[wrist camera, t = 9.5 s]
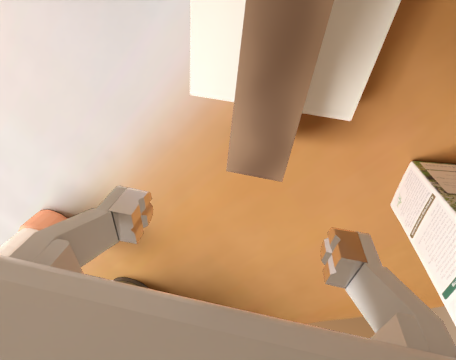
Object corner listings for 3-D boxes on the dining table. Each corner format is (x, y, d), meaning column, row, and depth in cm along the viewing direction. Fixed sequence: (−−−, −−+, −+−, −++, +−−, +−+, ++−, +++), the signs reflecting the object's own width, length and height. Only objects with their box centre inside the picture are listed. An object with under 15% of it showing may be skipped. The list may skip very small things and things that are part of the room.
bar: (233, 150, 22) (226, 171, 20) (264, -85, 14) (258, -109, 11) (282, 159, 22) (282, 181, 19) (346, -78, 13) (363, -101, 10)
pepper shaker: (47, 202, 37) (-121, 339, 22) (86, 232, 40) (-40, 374, 24) (30, 219, 41) (-125, 347, 25) (67, 246, 43) (-54, 376, 28)
